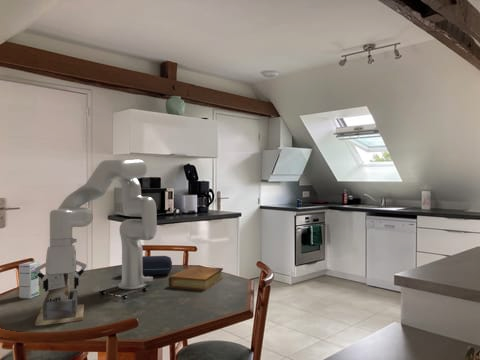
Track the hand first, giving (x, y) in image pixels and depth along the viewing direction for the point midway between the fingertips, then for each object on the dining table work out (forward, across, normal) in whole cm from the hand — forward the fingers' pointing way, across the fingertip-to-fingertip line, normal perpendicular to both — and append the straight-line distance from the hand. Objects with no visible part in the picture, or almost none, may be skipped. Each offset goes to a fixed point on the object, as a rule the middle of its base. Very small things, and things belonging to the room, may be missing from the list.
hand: (61, 289), depth 139 cm
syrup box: (+10, +15, -32) cm, 37 cm away
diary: (+10, -58, -27) cm, 65 cm away
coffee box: (+7, 0, +1) cm, 8 cm away
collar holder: (+10, 0, 0) cm, 10 cm away
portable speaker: (+10, -38, -52) cm, 65 cm away
